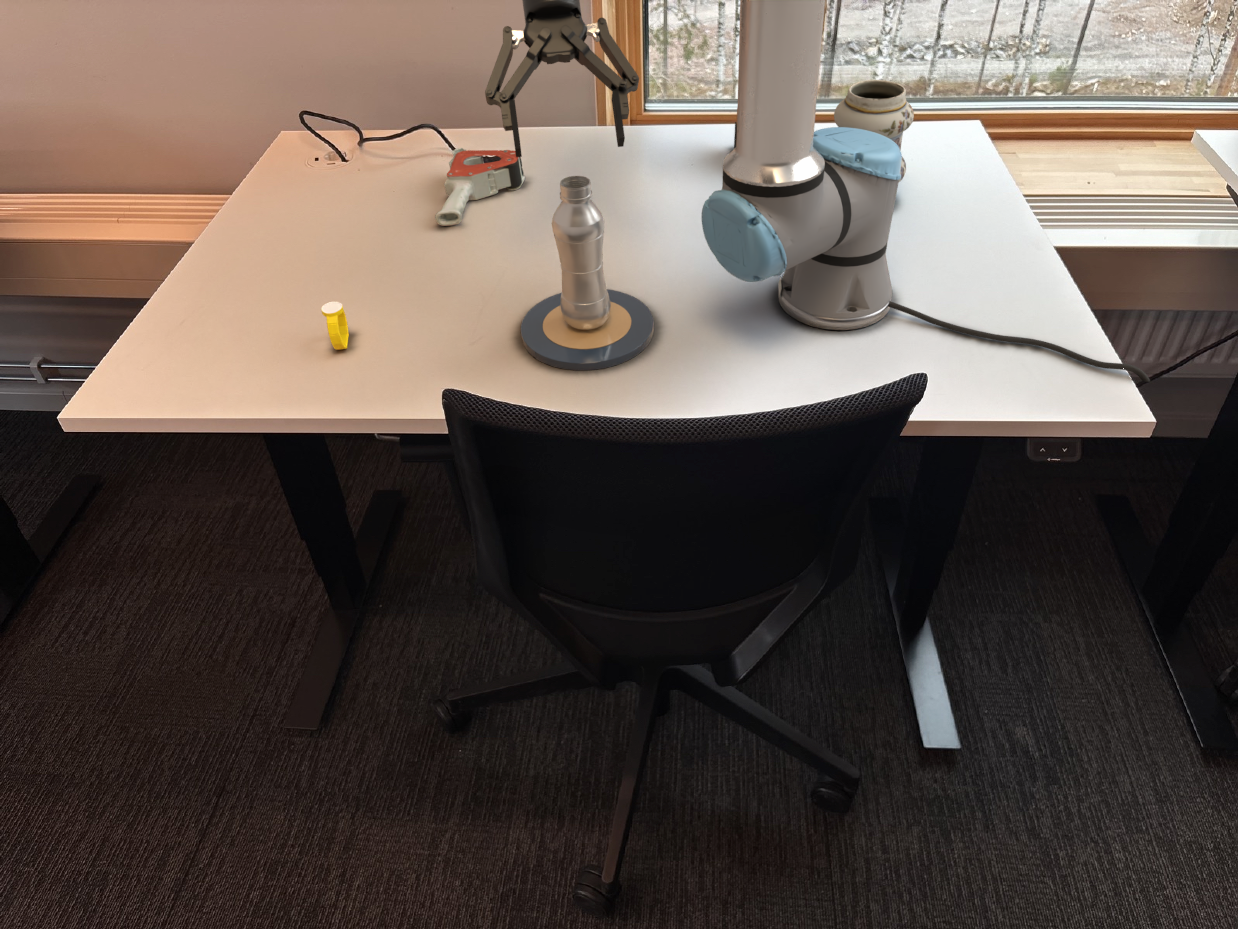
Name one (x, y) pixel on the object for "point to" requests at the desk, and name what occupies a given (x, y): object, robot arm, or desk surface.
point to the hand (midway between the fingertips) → (570, 147)
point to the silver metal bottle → (581, 255)
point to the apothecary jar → (877, 110)
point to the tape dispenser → (477, 180)
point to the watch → (336, 324)
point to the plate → (587, 334)
